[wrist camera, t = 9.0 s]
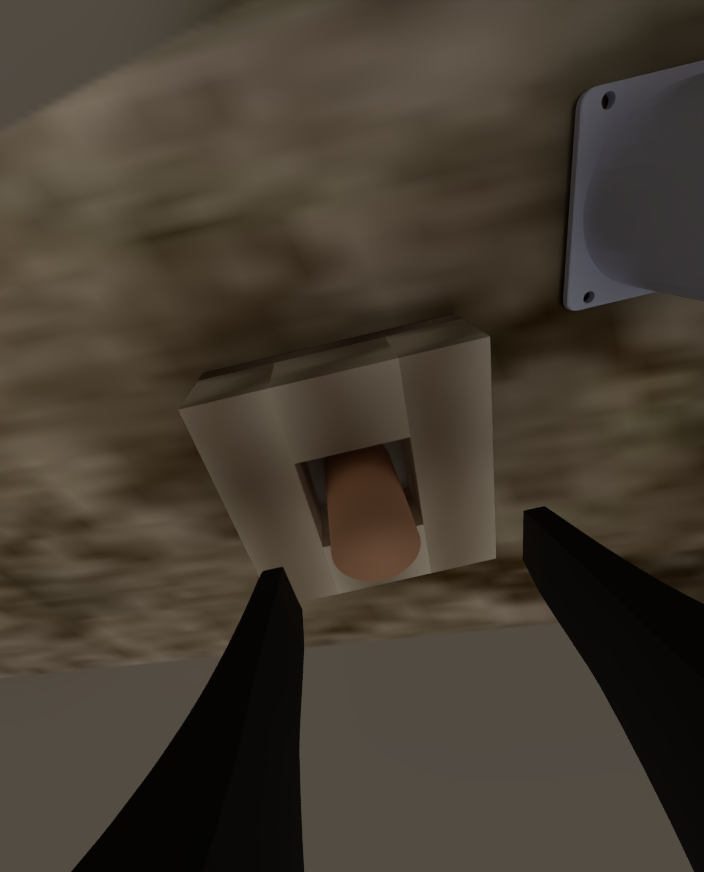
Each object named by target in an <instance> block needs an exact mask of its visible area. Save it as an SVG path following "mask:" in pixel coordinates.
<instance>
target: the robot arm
mask: <svg viewBox="0 0 704 872" xmlns="http://www.w3.org/2000/svg"><path fill="white" fill-rule="evenodd" d="M605 94H606V95H607V97H608V105H607V107H606V108H605V109H603V107H602V104H601V101H602V98H603V96H604V95H605ZM587 292H589V297H588V299H587V300H586V301H584V300H583V298H584V295H585V294H586V293H587ZM654 292H662V293H667V294H672V295H676V296H681V297H686V298H691V299H696V300H701V301H704V60H702V61H698V62H694V63H690V64H686V65H681V66H677V67H673V68H669V69H665V70H661V71H657V72H653V73H648V74H644V75H640V76H636V77H632V78H628V79H624V80H620V81H615V82H611V83H607V84H603V85H599V86H595V87H593V88H591V89H589V90H587V91H585V92H584V93H583V94H582V95H581V96H580V98H579V100H578V102H577V106H576V113H575V128H574V143H573V158H572V173H571V188H570V203H569V218H568V233H567V248H566V263H565V278H564V293H563V305H564V306H565V308H567V309H569V310H572V311H578V310H582V309H586V308H590V307H595V306H599V305H603V304H607V303H612V302H616V301H620V300H625V299H629V298H633V297H637V296H642V295H646V294H650V293H654ZM523 561H524V563H525V565H526V567H527V569H528V571H529V573H530V575H531V577H532V579H533V581H534V583H535V585H536V587H537V588H538V590H539V592H540V594H541V595H542V597H543V599H544V600H545V602H546V603H547V605H548V606H549V608H550V609H551V611H552V613H553V614H554V616H555V617H556V619H557V620H558V622H559V623H560V625H561V626H562V628H563V629H564V631H565V632H566V634H567V635H568V637H569V638H570V640H571V641H572V643H573V644H574V646H575V647H576V649H577V650H578V652H579V654H580V655H581V656H582V658H583V660H584V661H585V663H586V664H587V666H588V667H589V669H590V670H591V672H592V674H593V675H594V677H595V679H596V680H597V682H598V684H599V685H600V687H601V689H602V690H603V692H604V694H605V696H606V698H607V700H608V702H609V703H610V705H611V707H612V709H613V711H614V713H615V715H616V716H617V718H618V720H619V722H620V723H621V725H622V727H623V729H624V731H625V733H626V735H627V737H628V739H629V741H630V743H631V745H632V747H633V749H634V750H635V752H636V754H637V756H638V758H639V760H640V762H641V764H642V766H643V768H644V769H645V772H646V773H647V776H648V778H649V780H650V782H651V784H652V786H653V788H654V790H655V792H656V794H657V796H658V798H659V800H660V802H661V804H662V805H663V808H664V810H665V812H666V814H667V816H668V818H669V820H670V821H671V824H672V826H673V828H674V830H675V832H676V834H677V837H678V839H679V841H680V843H681V845H682V847H683V849H684V851H685V853H686V856H687V857H688V860H689V862H690V864H691V866H692V868H693V870H694V872H704V604H703V603H701V602H699V601H697V600H695V599H693V598H691V597H689V596H687V595H685V594H683V593H681V592H679V591H677V590H676V589H674V588H672V587H670V586H668V585H667V584H665V583H663V582H661V581H660V580H658V579H656V578H654V577H653V576H651V575H649V574H648V573H646V572H644V571H642V570H641V569H639V568H637V567H636V566H634V565H633V564H631V563H629V562H628V561H626V560H624V559H623V558H621V557H620V556H618V555H617V554H615V553H613V552H612V551H610V550H609V549H607V548H606V547H604V546H603V545H601V544H599V543H598V542H596V541H595V540H593V539H592V538H590V537H589V536H587V535H586V534H585V533H583V532H582V531H580V530H579V529H577V528H576V527H574V526H573V525H571V524H570V523H568V522H567V521H566V520H564V519H563V518H561V517H560V516H558V515H557V514H555V513H554V512H552V511H551V510H549V509H548V508H546V507H545V506H543V507H538V508H534V509H530V510H525V511H524V519H523ZM303 659H304V632H303V615H302V608H301V606H300V604H299V601H298V599H297V597H296V595H295V592H294V590H293V588H292V586H291V583H290V581H289V579H288V577H287V574H286V572H285V570H284V568H283V566H282V567H278V568H274V569H269V570H265V571H263V572H262V573H261V574H260V577H259V579H258V581H257V584H256V586H255V588H254V591H253V593H252V595H251V598H250V600H249V602H248V604H247V607H246V609H245V611H244V613H243V615H242V618H241V620H240V622H239V624H238V626H237V628H236V630H235V632H234V634H233V636H232V638H231V640H230V642H229V644H228V646H227V648H226V650H225V652H224V654H223V656H222V658H221V659H220V661H219V663H218V665H217V667H216V669H215V671H214V672H213V674H212V676H211V678H210V680H209V681H208V684H207V685H206V687H205V688H204V690H203V692H202V694H201V695H200V697H199V699H198V700H197V702H196V704H195V705H194V707H193V708H192V710H191V712H190V713H189V715H188V716H187V718H186V720H185V721H184V723H183V724H182V726H181V727H180V729H179V730H178V732H177V733H176V735H175V736H174V738H173V739H172V741H171V742H170V744H169V745H168V747H167V748H166V750H165V751H164V753H163V754H162V756H161V757H160V759H159V760H158V761H157V763H156V764H155V766H154V767H153V768H152V770H151V771H150V773H149V774H148V775H147V777H146V778H145V779H144V781H143V782H142V784H141V785H140V786H139V787H138V789H137V790H136V791H135V793H134V794H133V795H132V797H131V798H130V799H129V801H128V802H127V803H126V804H125V806H124V807H123V808H122V810H121V811H120V812H119V814H118V815H117V816H116V818H115V819H114V820H113V822H112V823H111V824H110V825H109V827H108V828H107V829H106V831H105V832H104V833H103V834H102V836H101V837H100V838H99V839H98V840H97V842H96V843H95V844H94V845H93V846H92V848H91V849H90V850H89V851H88V852H87V854H86V855H85V856H84V857H83V858H82V860H81V861H80V862H79V863H78V864H77V865H76V867H75V868H74V869H73V870H72V871H71V872H304V860H303V844H302V843H303V842H302V819H301V797H300V796H301V795H300V760H299V740H300V716H301V697H302V680H303Z"/></svg>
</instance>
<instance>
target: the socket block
mask: <svg viewBox="0 0 704 872" xmlns="http://www.w3.org/2000/svg"><path fill="white" fill-rule="evenodd" d="M178 410H179V412H180V414H181V417H182V419H183V421H184V423H185V425H186V427H187V429H188V431H189V433H190V435H191V437H192V439H193V441H194V443H195V445H196V448H197V450H198V452H199V454H200V456H201V458H202V460H203V462H204V464H205V466H206V468H207V470H208V472H209V474H210V476H211V478H212V481H213V483H214V485H215V487H216V489H217V491H218V493H219V495H220V497H221V499H222V501H223V503H224V505H225V507H226V509H227V511H228V514H229V516H230V518H231V520H232V522H233V524H234V526H235V528H236V530H237V532H238V534H239V536H240V538H241V540H242V542H243V545H244V547H245V549H246V551H247V553H248V555H249V557H250V559H251V561H252V563H253V565H254V567H255V569H256V571H257V573H258V575H259V577H260V574H261V573H262V572H263V571H265V570H269V569H274V568H278V567H282V566H283V568H284V570H285V572H286V574H287V577H288V579H289V581H290V583H291V586H292V588H293V590H294V592H295V595H296V597H297V599H298V601H299V603H301V602H305V601H310V600H314V599H319V598H323V597H327V596H332V595H336V594H341V593H345V592H350V591H354V590H358V589H363V588H367V587H372V586H376V585H380V584H385V583H389V582H394V581H398V580H402V579H407V578H411V577H416V576H420V575H424V574H429V573H433V572H438V571H442V570H447V569H451V568H455V567H460V566H464V565H469V564H473V563H477V562H482V561H486V560H491V559H495V558H496V539H495V502H494V464H493V426H492V388H491V351H490V336H488V335H487V334H485V333H484V332H482V331H481V330H479V329H477V328H476V327H474V326H473V325H471V324H470V323H468V322H466V321H465V320H463V319H462V318H460V317H458V316H457V315H455V314H452V315H448V316H444V317H440V318H435V319H431V320H427V321H423V322H418V323H414V324H410V325H406V326H401V327H397V328H393V329H389V330H384V331H380V332H376V333H372V334H367V335H363V336H359V337H355V338H350V339H346V340H342V341H338V342H334V343H329V344H325V345H321V346H317V347H312V348H308V349H304V350H300V351H295V352H291V353H287V354H283V355H278V356H274V357H270V358H266V359H261V360H257V361H253V362H249V363H244V364H240V365H236V366H232V367H227V368H223V369H219V370H215V371H210V372H206V373H203V374H202V376H201V377H200V378H199V380H198V381H197V383H196V384H195V386H194V387H193V389H192V390H191V392H190V393H189V395H188V396H187V398H186V399H185V400H184V402H183V403H182V405H181V406H180V408H179V409H178ZM378 444H383V445H384V446H385V447H386V448H387V450H388V452H389V454H390V457H391V460H392V463H393V465H394V468H395V471H396V473H397V476H398V479H399V481H400V484H401V487H402V489H403V492H404V495H405V497H406V500H407V503H408V505H409V508H410V511H411V514H412V516H413V519H414V522H415V524H416V527H417V530H418V532H419V535H420V539H421V547H420V551H419V554H418V556H417V558H416V559H415V561H414V562H413V563H412V564H411V565H410V566H409V567H408V568H407V569H406V570H404V571H403V572H401V573H399V574H398V575H396V576H393V577H391V578H388V579H384V580H378V581H362V580H357V579H353V578H351V577H348V576H346V575H345V574H343V573H342V572H341V571H340V570H338V568H337V567H336V566H335V564H334V562H333V559H332V555H331V543H330V532H329V520H328V508H327V496H326V484H325V472H324V462H325V458H326V457H327V456H331V455H335V454H340V453H344V452H348V451H353V450H357V449H361V448H365V447H370V446H374V445H378Z"/></svg>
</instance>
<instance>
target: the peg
mask: <svg viewBox="0 0 704 872" xmlns="http://www.w3.org/2000/svg"><path fill="white" fill-rule="evenodd" d="M324 472H325V484H326V496H327V508H328V520H329V532H330V543H331V555H332V559H333V562H334V564H335V566H336V567H337V568H338V570H340V571H341V572H342V573H343V574H345V575H346V576H348V577H351V578H353V579H357V580H362V581H378V580H384V579H388V578H391V577H393V576H396V575H398V574H399V573H401V572H403V571H404V570H406V569H407V568H408V567H409V566H410V565H411V564H412V563H413V562H414V561H415V559H416V558H417V556H418V554H419V551H420V547H421V539H420V535H419V532H418V530H417V527H416V524H415V522H414V519H413V516H412V514H411V511H410V508H409V505H408V503H407V500H406V497H405V495H404V492H403V489H402V487H401V484H400V481H399V479H398V476H397V473H396V471H395V468H394V465H393V463H392V460H391V457H390V454H389V452H388V450H387V448H386V447H385V446H384V445H383V444H378V445H374V446H370V447H365V448H361V449H357V450H353V451H348V452H344V453H340V454H335V455H331V456H327V457H326V458H325V462H324Z"/></svg>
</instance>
